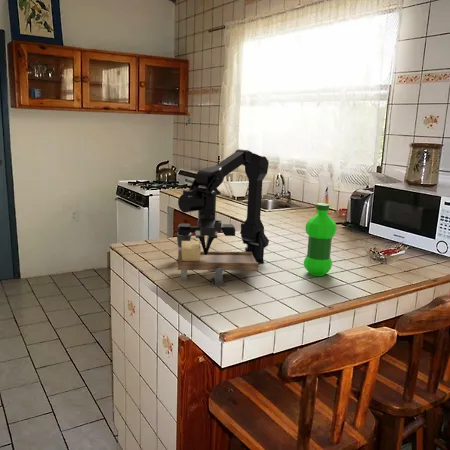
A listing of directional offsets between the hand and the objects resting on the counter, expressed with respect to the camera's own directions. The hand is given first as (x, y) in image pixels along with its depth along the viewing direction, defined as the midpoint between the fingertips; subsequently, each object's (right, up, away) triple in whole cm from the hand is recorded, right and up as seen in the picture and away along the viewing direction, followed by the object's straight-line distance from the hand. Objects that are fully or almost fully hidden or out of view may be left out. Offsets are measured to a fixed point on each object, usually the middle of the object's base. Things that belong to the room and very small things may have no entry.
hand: (205, 254), depth 153 cm
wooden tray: (+4, -3, +1) cm, 5 cm away
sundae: (-9, -3, +18) cm, 21 cm away
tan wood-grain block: (-5, -1, 0) cm, 5 cm away
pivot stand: (-1, -7, +2) cm, 8 cm away
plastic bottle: (+39, -8, +9) cm, 41 cm away
